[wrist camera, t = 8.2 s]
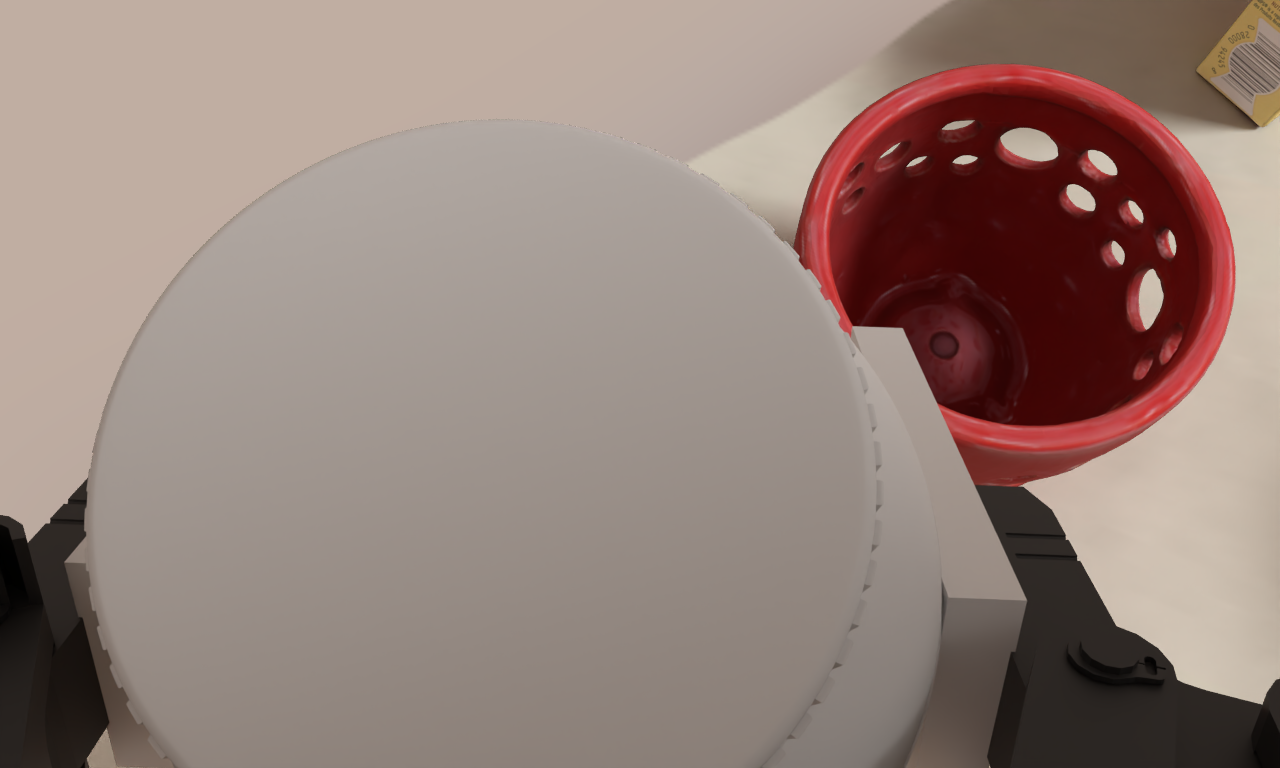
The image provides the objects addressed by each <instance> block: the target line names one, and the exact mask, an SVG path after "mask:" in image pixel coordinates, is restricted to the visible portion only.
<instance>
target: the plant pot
mask: <svg viewBox="0 0 1280 768" xmlns="http://www.w3.org/2000/svg"><path fill="white" fill-rule="evenodd" d="M966 120H975V121H974V122H973V123H972V124H970V125H968V126H966V127H963V128H959V129H955V130H942V128H943V127H945V126H946V125H947V124H949V123H951V122H954V121H966ZM1016 128H1032V129H1036V130H1039V131H1042V132H1044V133H1046V134H1047V135H1048V136H1049V137H1050V138H1051V139H1052V140H1053V141H1054V142H1055V144H1056V145H1057V148H1058V156H1057V157H1056V158H1055V159H1053V160H1049V161H1043V162H1040V161H1033V160H1028V159H1025V158H1022V157H1019V156H1017V155H1015V154H1013V153H1012V152H1010V151H1009V150H1007V149H1005V147H1004V146H1003V144H1002V143H1001V140H1000V137H1001V136H1002V135H1003V134H1004V133H1006V132H1008V131H1010V130H1012V129H1016ZM900 142H901V143H900ZM898 143H900V144H899V145H898V147H897V148H896V149H895V150H893V151H892V152H891V153H890V154H888V155H886V156H884V157H882V158H880V157H881V156H882V155H883V154H884V153H885V152H886V151H887V150H889V149H890V148H891V147H893V146H894V145H896V144H898ZM1088 150H1097V151H1100V152H1103V153H1104V154H1106V155H1107V156H1108V157H1109V158H1110V159H1111V160H1112V161H1113V162H1114V163H1115V165H1116V167H1117V175H1108V174H1105V173H1103V172H1101V171H1100V170H1099V169H1097V168H1096V167H1095V166H1094V165H1093V164H1092V162H1091V161H1090V160H1089V158H1088ZM963 155H971V156H975V157H977V158H978V159H977V160H975V161H974V162H972V163H969V164H964V165H962V164H955V163H952V162H953V161H954V160H955V159H956V158H958V157H960V156H963ZM923 156H927V157H926V158H925V159H924V160H923V161H922V162H920V163H918V164H916V165H914V166H910V167H906V166H907V165H908V164H909V163H910V162H911V161H912V160H914V159H916V158H918V157H923ZM879 158H880V159H879ZM1070 184H1076V185H1079V186H1081V187H1083V188H1084V189H1086V190H1087V191H1089V192H1090V193H1091V195H1092V196H1093V198H1094V199H1095V203H1096V207H1095V210H1094V211H1086V210H1083V209H1081V208H1079V207H1076V206H1075V205H1074V204H1073V203H1072V202H1071V201H1070V199H1069V197H1068V195H1067V194H1066V192H1067V186H1068V185H1070ZM1129 200H1130V201H1133V202H1135V203H1136V204H1137V205H1138V207H1139V208H1140V209H1141V210H1142V213H1143V217H1144V220H1143V223H1141V222H1139V221H1138V220H1137V219H1136V218H1135V217H1134V216H1133V215H1132V213H1131V211H1130V208H1129V205H1128V202H1129ZM1169 230H1170V231H1171V232H1172V233H1173V235H1174V237H1175V241H1176V246H1177V247H1176V253H1175V256H1174V255H1173V253H1172V251H1171V248H1170V245H1169V242H1168V233H1169ZM1113 240H1114V241H1116V242H1117V243H1118V244H1119V245H1120V246H1121V247H1122V249H1123V251H1124V253H1125V259H1124V263H1123V265H1121V264H1119V263H1118V261H1117V260H1116V259H1115V257H1114V255H1113V253H1112V248H1111V244H1112V242H1113ZM794 250H795V252H796V253H797V254H798V255H799V256H800V257H799V260H798V261H799V262H800V263H801V265H802V266H803V267H804V269H805V270H807V269H810V270H811V272H812V273H813V274H814V276H815V277H816V279H817V280H818V281H819V283H820V284H821V289H820V292H821V294H822V295H823V297H824V299H825V300H831V302H832V303H833V305H834V307H835V309H836V310H837V312H838V314H839V316H840V320H839V323H838V324H839V326H840V328H841V329H842V330H843V331H844V332H847V333H848V334H849V336H850V338H851V332H852V326H858V327H885V328H903V330H904V332H905V335H906V337H907V339H908V341H909V343H910V345H911V348H912V350H913V352H914V354H915V356H916V359H917V361H918V363H919V365H920V367H921V370H922V372H923V374H924V376H925V378H926V380H927V383H928V385H929V387H930V389H931V391H932V394H933V396H934V398H935V400H936V402H937V405H938V407H939V409H940V411H941V413H942V415H943V418H944V420H945V422H946V424H947V426H948V429H949V431H950V433H951V435H952V437H953V440H954V442H955V444H956V446H957V448H958V450H959V453H960V455H961V457H962V459H963V461H964V464H965V466H966V468H967V470H968V472H969V475H970V477H971V479H972V481H973V483H974V485H988V486H1014V487H1018V486H1020V485H1023V484H1024V483H1026V482H1029V481H1034V480H1038V479H1043V478H1047V477H1051V476H1055V475H1058V474H1061V473H1064V472H1068V471H1071V470H1073V469H1075V468H1077V467H1079V466H1081V465H1082V464H1084V463H1086V462H1088V461H1090V460H1092V459H1094V458H1096V457H1098V456H1101V455H1103V454H1105V453H1107V452H1109V451H1111V450H1113V449H1115V448H1117V447H1119V446H1120V445H1122V444H1124V443H1126V442H1128V441H1130V440H1131V439H1133V438H1134V437H1136V436H1137V435H1139V434H1141V433H1142V432H1143V431H1145V430H1146V429H1147V428H1149V427H1150V426H1152V425H1153V424H1154V423H1156V422H1157V421H1158V420H1160V419H1161V418H1162V417H1163V416H1165V415H1166V414H1167V413H1168V412H1169V411H1171V410H1172V409H1173V408H1174V407H1175V406H1177V405H1178V404H1179V403H1180V402H1181V401H1182V400H1183V399H1184V398H1185V397H1186V396H1187V395H1188V394H1189V393H1190V392H1191V391H1192V389H1193V388H1194V387H1195V386H1196V385H1197V383H1198V382H1199V381H1200V380H1201V378H1202V377H1203V376H1204V374H1205V372H1206V371H1207V369H1208V367H1209V366H1210V364H1211V363H1212V361H1213V360H1214V358H1215V356H1216V354H1217V352H1218V350H1219V347H1220V345H1221V343H1222V340H1223V338H1224V335H1225V332H1226V329H1227V326H1228V322H1229V319H1230V315H1231V311H1232V307H1233V302H1234V293H1235V257H1234V247H1233V243H1232V239H1231V234H1230V229H1229V227H1228V225H1227V222H1226V218H1225V215H1224V213H1223V210H1222V208H1221V205H1220V203H1219V201H1218V199H1217V197H1216V194H1215V192H1214V190H1213V188H1212V186H1211V184H1210V182H1209V181H1208V179H1207V177H1206V176H1205V174H1204V173H1203V171H1202V170H1201V168H1200V167H1199V165H1198V164H1197V163H1196V161H1195V160H1194V158H1193V157H1192V156H1191V154H1190V153H1189V152H1188V151H1187V149H1186V148H1185V147H1184V146H1183V145H1182V143H1181V142H1180V141H1179V140H1178V139H1177V138H1176V137H1175V136H1174V135H1173V134H1172V133H1171V132H1170V131H1169V130H1168V129H1167V128H1166V127H1165V126H1164V125H1163V124H1162V123H1160V122H1159V121H1158V120H1157V119H1156V118H1154V117H1153V116H1152V115H1151V114H1149V113H1148V112H1147V111H1145V110H1144V109H1143V108H1141V107H1140V106H1138V105H1137V104H1135V103H1133V102H1131V101H1130V100H1128V99H1127V98H1125V97H1123V96H1122V95H1120V94H1118V93H1117V92H1114V91H1112V90H1110V89H1108V88H1106V87H1104V86H1101V85H1099V84H1097V83H1095V82H1093V81H1090V80H1088V79H1085V78H1082V77H1080V76H1077V75H1073V74H1070V73H1066V72H1062V71H1058V70H1054V69H1050V68H1043V67H1037V66H1030V65H1019V64H987V65H974V66H968V67H961V68H957V69H952V70H947V71H943V72H939V73H936V74H933V75H930V76H927V77H924V78H921V79H919V80H916V81H913V82H911V83H909V84H907V85H904V86H902V87H900V88H898V89H896V90H894V91H892V92H890V93H889V94H887V95H886V96H884V97H882V98H881V99H879V100H878V101H876V102H875V103H873V104H872V105H870V106H869V107H867V108H866V109H865V110H864V111H863V112H862V113H860V114H859V115H858V116H857V117H855V118H854V119H853V120H852V121H851V122H850V123H849V124H848V125H847V126H846V127H845V128H844V129H843V130H842V131H841V133H840V134H839V135H838V136H837V138H836V139H835V140H834V142H833V143H832V144H831V146H830V147H829V149H828V150H827V152H826V153H825V155H824V156H823V158H822V160H821V162H820V164H819V165H818V167H817V169H816V171H815V173H814V176H813V178H812V181H811V183H810V185H809V188H808V191H807V195H806V198H805V201H804V205H803V209H802V213H801V216H800V220H799V224H798V229H797V233H796V237H795V243H794ZM1150 269H1154V270H1155V271H1156V274H1157V276H1158V278H1159V279H1160V281H1161V287H1162V291H1163V293H1164V299H1163V303H1162V306H1161V309H1160V312H1159V314H1158V315H1157V317H1156V319H1155V321H1154V323H1153V324H1152V326H1151V327H1150V328H1149V329H1147V330H1146V329H1145V328H1144V326H1143V323H1142V320H1141V317H1140V310H1139V291H1140V286H1141V282H1142V279H1143V277H1144V275H1145V274H1146V273H1147V272H1148V271H1149V270H1150Z"/></svg>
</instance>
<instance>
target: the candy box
mask: <svg viewBox="0 0 1280 768" xmlns="http://www.w3.org/2000/svg"><path fill="white" fill-rule="evenodd" d="M1196 71H1197V72H1198V73H1199V74H1200V75H1201V76H1202V77H1203V78H1205V79H1206V80H1207V81H1208V82H1209V83H1210V84H1212V85H1213V86H1214V87H1215V88H1216V89H1217V90H1219V91H1220V92H1221V93H1222V94H1223V95H1224V96H1225V97H1227V98H1228V99H1229V100H1230V101H1231V102H1233V103H1234V104H1235V105H1236V106H1237V107H1238V108H1240V109H1241V110H1242V111H1243V112H1244V113H1245V114H1247V115H1248V116H1249V117H1250V118H1251V119H1252V120H1253V121H1254V122H1255V123H1256V124H1257V125H1259V126H1260V127H1265V126H1267V125H1268V124H1269V123H1270V122H1271V121H1273V120H1274V119H1275V118H1277V117H1278V116H1279V115H1280V0H1252V1H1251V2H1250V4H1249V5H1248V6H1247V7H1246V9H1245V10H1244V11H1243V12H1242V14H1241V15H1240V16H1239V17H1238V19H1237V20H1236V21H1235V22H1234V24H1233V25H1232V26H1231V27H1230V29H1229V30H1228V31H1227V32H1226V34H1225V35H1224V36H1223V37H1222V38H1221V40H1220V41H1219V42H1218V43H1217V45H1216V46H1215V47H1214V48H1213V50H1212V51H1211V52H1210V53H1209V55H1208V56H1207V57H1206V58H1205V59H1204V61H1203V62H1202V63H1201V64H1200V65H1199V66H1198V68H1197V70H1196Z"/></svg>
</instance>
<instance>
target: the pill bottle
mask: <svg viewBox="0 0 1280 768" xmlns="http://www.w3.org/2000/svg"><path fill="white" fill-rule="evenodd" d="M774 232H775V229H774V228H773V227H772V226H771V225H770V224H769V223H768V222H767V221H766V220H765V219H763V218H762V217H761V216H758V217H757V216H756V215H755V214H754V213H753V212H751V211H750V210H749V209H748V205H747V204H746V203H745V202H743V201H742V200H741V199H739V198H738V197H737V196H736V195H734V194H733V193H731V194H729V193H728V192H726V191H725V190H724V189H722V188H721V187H719V183H717V182H715V181H714V180H712V179H711V178H709V177H707V176H706V175H704V174H699V173H697V172H696V171H694V170H692V169H690V168H689V166H688V165H686V164H684V163H683V162H681V161H679V160H677V159H675V158H673V157H667V156H665V155H663V154H661V153H659V152H656V150H654V149H652V148H649V147H647V146H644V145H642V144H639V143H634V142H631V141H628V140H625V139H623V138H621V137H617V136H614V135H611V134H607V133H601V132H598V131H593V130H590V129H586V128H581V127H576V126H571V125H564V124H557V123H550V122H542V121H529V120H507V119H493V120H471V121H459V122H451V123H443V124H436V125H431V126H425V127H420V128H415V129H411V130H406V131H402V132H398V133H395V134H391V135H387V136H384V137H380V138H378V139H374V140H371V141H368V142H365V143H363V144H360V145H357V146H354V147H352V148H349V149H347V150H344V151H342V152H339V153H337V154H335V155H332V156H330V157H328V158H326V159H324V160H322V161H320V162H318V163H316V164H314V165H312V166H310V167H308V168H306V169H304V170H302V171H300V172H299V173H297V174H295V175H293V176H292V177H290V178H288V179H287V180H285V181H283V182H282V183H280V184H278V185H277V186H275V187H274V188H272V189H271V190H269V191H268V192H266V193H265V194H263V195H262V196H261V197H259V198H258V199H256V200H255V201H254V202H252V203H251V204H250V205H248V206H247V207H246V208H244V209H243V210H242V211H241V212H239V213H238V214H237V215H236V216H234V217H233V218H232V219H231V220H230V221H229V222H227V223H226V224H225V225H224V226H223V227H222V228H221V229H220V230H218V231H217V233H215V234H214V235H213V236H212V237H211V238H210V239H209V240H208V241H207V242H206V243H205V244H204V245H203V246H202V247H201V248H200V249H199V250H198V251H197V252H196V253H195V254H194V255H193V257H192V258H191V259H190V260H189V261H188V262H187V263H186V265H185V266H184V267H183V268H182V269H181V270H180V272H179V273H178V274H177V275H176V277H175V278H174V279H173V280H172V281H171V283H170V284H169V285H168V287H167V288H166V289H165V291H164V292H163V294H162V295H161V296H160V298H159V299H158V301H157V302H156V304H155V305H154V307H153V308H152V310H151V311H150V313H149V314H148V316H147V317H146V319H145V321H144V322H143V324H142V326H141V328H140V329H139V331H138V333H137V334H136V336H135V338H134V340H133V342H132V344H131V346H130V348H129V350H128V351H127V354H126V356H125V358H124V360H123V362H122V364H121V367H120V369H119V371H118V373H117V376H116V378H115V381H114V383H113V386H112V388H111V391H110V394H109V396H108V399H107V402H106V405H105V408H104V411H103V415H102V419H101V422H100V426H99V429H98V432H97V435H96V439H95V443H94V448H93V456H92V463H91V468H90V469H89V475H88V482H87V490H86V491H87V492H88V494H87V507H86V508H85V520H84V531H86V542H87V547H86V548H85V561H86V571H88V572H89V576H90V583H91V587H89V594H90V600H91V605H92V611H96V613H97V617H98V621H99V626H98V627H97V631H98V634H99V638H100V641H101V644H102V648H103V650H107V651H108V653H109V656H110V658H111V661H112V664H111V665H110V670H111V672H112V675H113V677H114V679H115V682H116V684H117V686H118V688H123V689H124V690H125V692H126V694H127V696H128V698H129V701H128V702H127V707H128V709H129V710H130V712H131V714H132V716H133V717H134V719H135V721H136V723H137V724H139V725H144V726H145V727H146V729H147V730H148V732H149V733H150V735H151V736H150V737H149V738H148V742H149V743H150V744H151V746H152V747H153V749H154V750H155V751H156V753H157V754H158V755H159V757H160V758H161V759H169V760H170V761H171V762H172V764H173V766H174V768H906V766H907V764H908V762H909V759H910V757H911V755H912V752H913V750H914V747H915V745H916V742H917V739H918V737H919V734H920V731H921V728H922V725H923V722H924V719H925V715H926V712H927V709H928V705H929V701H930V697H931V693H932V689H933V685H934V680H935V675H936V669H937V664H938V657H939V650H940V642H941V631H942V615H943V611H942V586H941V575H942V564H941V554H940V546H939V539H938V532H937V526H936V521H935V516H934V512H933V507H932V503H931V499H930V495H929V491H928V488H927V484H926V481H925V477H924V474H923V471H922V468H921V465H920V462H919V459H918V456H917V454H916V451H915V448H914V446H913V443H912V441H911V438H910V436H909V434H908V431H907V429H906V427H905V425H904V423H903V420H902V418H901V416H900V414H899V412H898V410H897V408H896V407H895V405H894V403H893V401H892V399H891V397H890V396H889V394H888V392H887V390H886V389H885V387H884V386H883V384H882V382H881V381H880V379H879V378H878V376H877V374H876V373H875V371H874V370H873V368H872V367H871V366H870V364H869V363H868V361H867V360H866V359H865V357H864V356H863V355H862V353H861V352H860V351H859V349H858V348H857V347H856V345H855V344H854V343H853V342H852V340H851V338H850V336H849V334H848V333H847V332H844V331H843V330H842V329H841V328H840V326H839V324H838V323H839V320H840V316H839V314H838V312H837V310H836V309H835V307H834V305H833V303H832V302H831V300H825V299H824V297H823V295H822V294H821V292H820V289H821V284H820V283H819V281H818V280H817V279H816V277H815V276H814V274H813V273H812V272H811V270H810V269H807V270H805V269H804V267H803V266H802V265H801V263H800V262H799V261H798V260H799V257H800V256H799V255H798V254H797V253H796V252H795V250H794V249H793V248H792V247H791V246H790V245H789V244H788V242H787V241H784V242H782V241H781V240H780V239H779V238H778V237H777V235H776V234H775V233H774Z"/></svg>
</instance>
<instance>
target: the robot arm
mask: <svg viewBox="0 0 1280 768" xmlns="http://www.w3.org/2000/svg"><path fill="white" fill-rule="evenodd" d="M851 340H852V342H853V343H854V344H855V345H856V347H857V348H858V349H859V351H860V352H861V353H862V355H863V356H864V357H865V359H866V360H867V361H868V363H869V364H870V366H871V367H872V368H873V370H874V371H875V373H876V374H877V376H878V378H879V379H880V381H881V382H882V384H883V386H884V387H885V389H886V390H887V392H888V394H889V396H890V397H891V399H892V401H893V403H894V405H895V407H896V408H897V410H898V412H899V414H900V416H901V418H902V420H903V423H904V425H905V427H906V429H907V431H908V434H909V436H910V438H911V441H912V443H913V446H914V448H915V451H916V454H917V456H918V459H919V462H920V465H921V468H922V471H923V474H924V477H925V481H926V484H927V488H928V491H929V495H930V499H931V503H932V507H933V512H934V516H935V521H936V526H937V532H938V539H939V546H940V554H941V564H942V575H941V586H942V611H943V615H942V631H941V642H940V650H939V657H938V664H937V669H936V675H935V680H934V685H933V689H932V693H931V697H930V701H929V705H928V709H927V712H926V715H925V719H924V722H923V725H922V728H921V731H920V734H919V737H918V739H917V742H916V745H915V747H914V750H913V752H912V755H911V757H910V759H909V762H908V764H907V766H906V768H989V764H990V767H991V768H1280V679H1277V680H1276V681H1275V682H1274V683H1273V685H1272V686H1271V688H1270V689H1269V691H1268V692H1267V694H1266V697H1265V699H1264V702H1263V705H1261V704H1257V703H1253V702H1249V701H1245V700H1241V699H1238V698H1234V697H1230V696H1226V695H1222V694H1218V693H1214V692H1210V691H1206V690H1203V689H1200V688H1197V687H1194V686H1191V685H1188V684H1185V683H1182V682H1180V681H1178V680H1177V678H1176V674H1175V671H1174V667H1173V665H1172V664H1171V663H1170V661H1169V660H1168V659H1167V658H1166V657H1165V656H1164V655H1163V653H1162V652H1161V651H1160V650H1159V649H1158V648H1157V647H1155V646H1154V645H1152V644H1151V643H1149V642H1148V641H1146V640H1145V639H1143V638H1142V637H1140V636H1139V635H1137V634H1135V633H1132V632H1130V631H1127V630H1125V629H1122V628H1120V627H1117V626H1116V625H1115V623H1114V621H1113V619H1112V617H1111V616H1110V614H1109V612H1108V610H1107V608H1106V607H1105V605H1104V603H1103V601H1102V599H1101V598H1100V596H1099V594H1098V592H1097V590H1096V589H1095V587H1094V585H1093V583H1092V581H1091V580H1090V578H1089V576H1088V574H1087V572H1086V571H1085V569H1084V567H1083V565H1082V563H1081V562H1080V561H1077V554H1076V553H1075V551H1074V549H1073V547H1072V545H1071V544H1070V542H1069V540H1066V535H1065V533H1064V531H1063V529H1062V527H1061V526H1060V524H1059V522H1058V520H1057V518H1056V517H1055V515H1054V513H1053V511H1052V510H1051V509H1050V508H1049V507H1048V506H1046V505H1045V504H1044V503H1043V502H1041V501H1040V500H1039V499H1038V498H1036V497H1035V496H1034V495H1033V494H1031V493H1030V492H1029V491H1028V490H1026V489H1025V488H1024V487H1014V486H988V485H974V483H973V481H972V479H971V477H970V475H969V472H968V470H967V468H966V466H965V464H964V461H963V459H962V457H961V455H960V453H959V450H958V448H957V446H956V444H955V442H954V440H953V437H952V435H951V433H950V431H949V429H948V426H947V424H946V422H945V420H944V418H943V415H942V413H941V411H940V409H939V407H938V405H937V402H936V400H935V398H934V396H933V394H932V391H931V389H930V387H929V385H928V383H927V380H926V378H925V376H924V374H923V372H922V370H921V367H920V365H919V363H918V361H917V359H916V356H915V354H914V352H913V350H912V348H911V345H910V343H909V341H908V339H907V337H906V335H905V332H904V330H903V328H885V327H858V326H852V332H851ZM87 482H88V478H87V480H85V482H84V483H83V484H82V485H81V486H80V487H79V488H78V489H77V490H76V491H75V493H73V495H72V496H71V497H70V498H69V499H68V504H63V506H62V507H61V508H60V509H59V510H58V511H57V512H56V513H55V514H54V515H53V517H51V518H50V520H51V521H50V524H45V525H44V526H43V527H42V528H41V529H40V530H39V532H38V533H37V534H36V535H35V536H34V537H33V538H32V539H31V540H30V541H29V542H28V543H27V539H26V535H25V532H24V528H23V525H22V524H20V523H19V522H17V521H16V520H14V519H12V518H11V517H9V516H3V515H0V768H89V765H88V762H87V757H88V756H89V754H90V752H91V751H92V749H93V748H94V746H95V745H96V743H97V742H98V740H99V738H100V737H101V735H102V734H103V732H104V731H105V729H106V728H107V730H108V734H109V738H110V742H111V746H112V750H113V753H114V757H115V761H116V765H117V766H122V767H145V768H174V766H173V764H172V762H171V761H170V760H169V759H161V758H160V757H159V755H158V754H157V753H156V751H155V750H154V749H153V747H152V746H151V744H150V743H149V742H148V738H149V737H150V736H151V735H150V733H149V732H148V730H147V729H146V727H145V726H144V725H139V724H137V723H136V721H135V719H134V717H133V716H132V714H131V712H130V710H129V709H128V707H127V702H128V701H129V698H128V696H127V694H126V692H125V690H124V689H123V688H118V686H117V684H116V682H115V679H114V677H113V675H112V672H111V670H110V665H111V664H112V661H111V658H110V656H109V653H108V651H107V650H103V648H102V644H101V641H100V638H99V634H98V631H97V627H98V626H99V621H98V617H97V613H96V611H92V605H91V600H90V594H89V587H91V583H90V576H89V572H88V571H86V561H85V548H86V547H87V542H86V531H84V520H85V508H86V507H87V494H88V492H87V491H86V490H87Z"/></svg>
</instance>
